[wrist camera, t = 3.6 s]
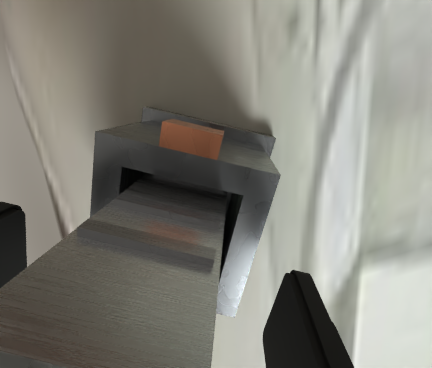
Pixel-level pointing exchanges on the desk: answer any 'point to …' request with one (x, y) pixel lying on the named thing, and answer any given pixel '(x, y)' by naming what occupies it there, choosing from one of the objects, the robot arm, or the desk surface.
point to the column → (123, 285)
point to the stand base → (196, 178)
